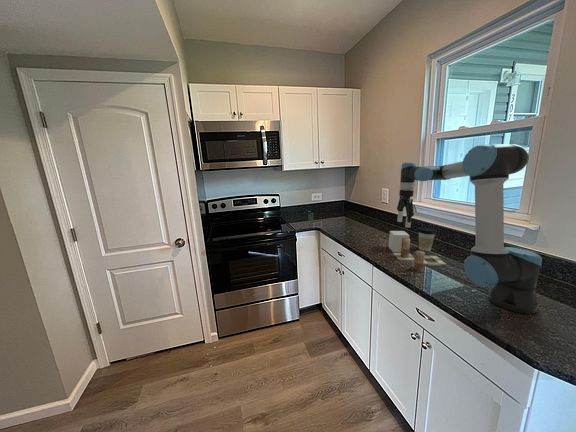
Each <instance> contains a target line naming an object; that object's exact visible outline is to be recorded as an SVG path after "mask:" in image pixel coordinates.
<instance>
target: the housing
mask: <svg viewBox="0 0 576 432" xmlns="http://www.w3.org/2000/svg"><path fill="white" fill-rule="evenodd" d="M388 236H389V237H388V249H389V250H390V251H392V253H401V245H402V238H409V239H410V234H409V233H407V232H406V231H404V230H389V235H388Z"/></svg>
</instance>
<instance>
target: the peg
mask: <svg viewBox="0 0 576 432" xmlns="http://www.w3.org/2000/svg"><path fill="white" fill-rule="evenodd" d="M425 254H426V251H422V250H420V249H419V250H418V249H417V250H415V252H414V256H415V257H414V260H413V261H414V262H413V266H412V267H413V270H415V273H417V274H422V273H423V268H424V266H423V263H424V260H425V259H424V256H426V255H425Z"/></svg>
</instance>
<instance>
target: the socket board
mask: <svg viewBox="0 0 576 432" xmlns="http://www.w3.org/2000/svg"><path fill="white" fill-rule="evenodd" d="M413 257H414V258H415V255H414V256H413ZM427 260H433V261H427ZM424 266H427V267H428V266H429V267H447V263H446V262H444V261H443V260H442V259H440V257H438V256H437V255H424V263H423V267H424Z"/></svg>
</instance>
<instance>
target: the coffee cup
mask: <svg viewBox="0 0 576 432" xmlns="http://www.w3.org/2000/svg"><path fill="white" fill-rule="evenodd" d="M417 231H418V249H419V250H420V251H424V252H430V251H432V247H433V243H434V239H435V235H436V229H435V228H433V227H425V226H424V227H419V229H418V230H417Z"/></svg>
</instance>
